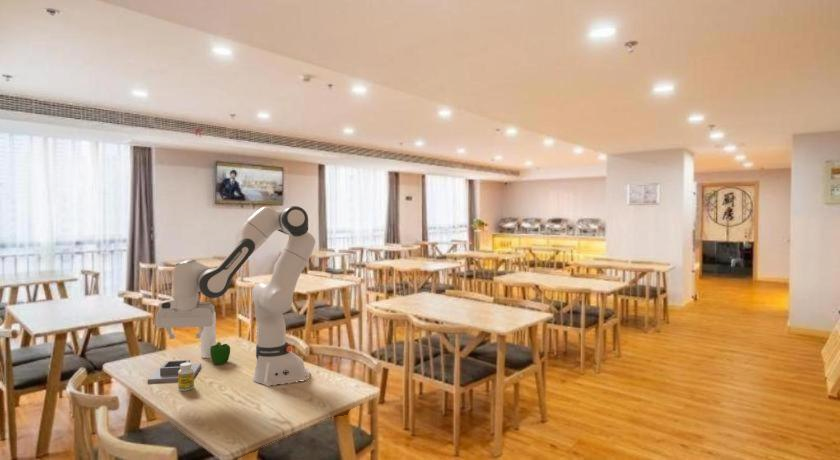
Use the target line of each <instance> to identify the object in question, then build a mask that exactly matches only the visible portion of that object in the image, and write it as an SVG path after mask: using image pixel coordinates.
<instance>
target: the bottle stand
mask: <svg viewBox="0 0 840 460" xmlns="http://www.w3.org/2000/svg"><path fill="white" fill-rule="evenodd" d="M186 362H190V363H191V359H181V360H180V359H179V360H166V362H164V364H163V365H159V367H158V368H157V369H156V370H155V371H154V372H153V373H152V374H151V375H150V376H149V377H148V379H147V384H155V383H157V384H158V383H171V382H173V383H174V382H176V383H177V382H178V371H179V370H180V364H182V363H186ZM191 364H192V366H191V368H193V370H194V377H196V375H197V374H198V372H199V370H200V369H201V368H202V363H191Z"/></svg>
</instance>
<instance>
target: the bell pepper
mask: <svg viewBox="0 0 840 460" xmlns="http://www.w3.org/2000/svg"><path fill="white" fill-rule="evenodd" d="M210 353H211V361H212V363H213V364H214V365H219V366H220V365H223V364H225V363H227V362H228V361H229V359H230V355H231V347H230V345H229V344H228V343H224V344H222V343H221V341H218V342H217V341H216V345H215V346H211V348H210Z"/></svg>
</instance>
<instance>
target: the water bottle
mask: <svg viewBox="0 0 840 460" xmlns="http://www.w3.org/2000/svg"><path fill="white" fill-rule="evenodd" d="M216 317H217V314H216V310H215V311H214V324H213V325H212V326H210V327H204V329H203V331H202V333H201V338H200V357H201V358H202V359H210V358H211V353H210V348H211V346H215V345H216V344H217V341H216V340H217V338H216V337H217V322H216V321H217V320H216ZM211 359H212V358H211Z"/></svg>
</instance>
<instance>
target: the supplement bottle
mask: <svg viewBox="0 0 840 460" xmlns="http://www.w3.org/2000/svg"><path fill="white" fill-rule="evenodd" d="M192 364H193V363H192V362H191V361H190V362H186V363H182V364H180V370H179V371H178V381H177V383H178V384H177V385H178V387H177V388H178V391H182V392H186V391H190V390H193V389H194V387H195V379H194V377H195V376H194V370H193V368H191V366H192Z"/></svg>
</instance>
